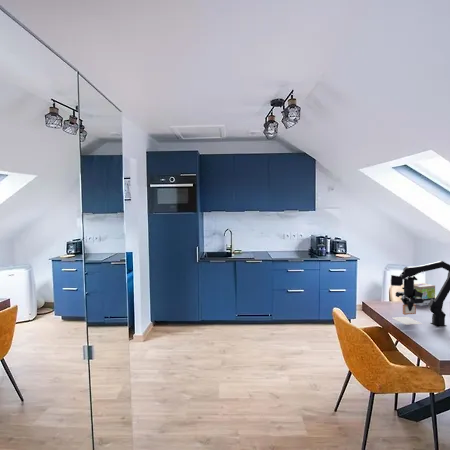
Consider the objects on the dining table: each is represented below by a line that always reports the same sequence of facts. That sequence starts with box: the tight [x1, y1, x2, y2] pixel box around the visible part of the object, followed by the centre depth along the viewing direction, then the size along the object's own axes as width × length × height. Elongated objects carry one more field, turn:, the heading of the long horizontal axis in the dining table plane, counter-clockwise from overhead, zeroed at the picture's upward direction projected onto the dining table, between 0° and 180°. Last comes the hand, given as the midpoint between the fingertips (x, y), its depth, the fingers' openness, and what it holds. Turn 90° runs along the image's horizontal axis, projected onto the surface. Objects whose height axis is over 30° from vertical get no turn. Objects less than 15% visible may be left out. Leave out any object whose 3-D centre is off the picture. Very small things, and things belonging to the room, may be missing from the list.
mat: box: [392, 316, 424, 326], centre depth 206 cm, size 14×12×1 cm
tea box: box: [414, 282, 436, 307], centre depth 244 cm, size 15×10×15 cm
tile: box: [402, 304, 417, 316], centre depth 203 cm, size 2×8×6 cm, turn 97°
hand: (409, 310), depth 203 cm, fingers closed on tile, 2 cm apart
